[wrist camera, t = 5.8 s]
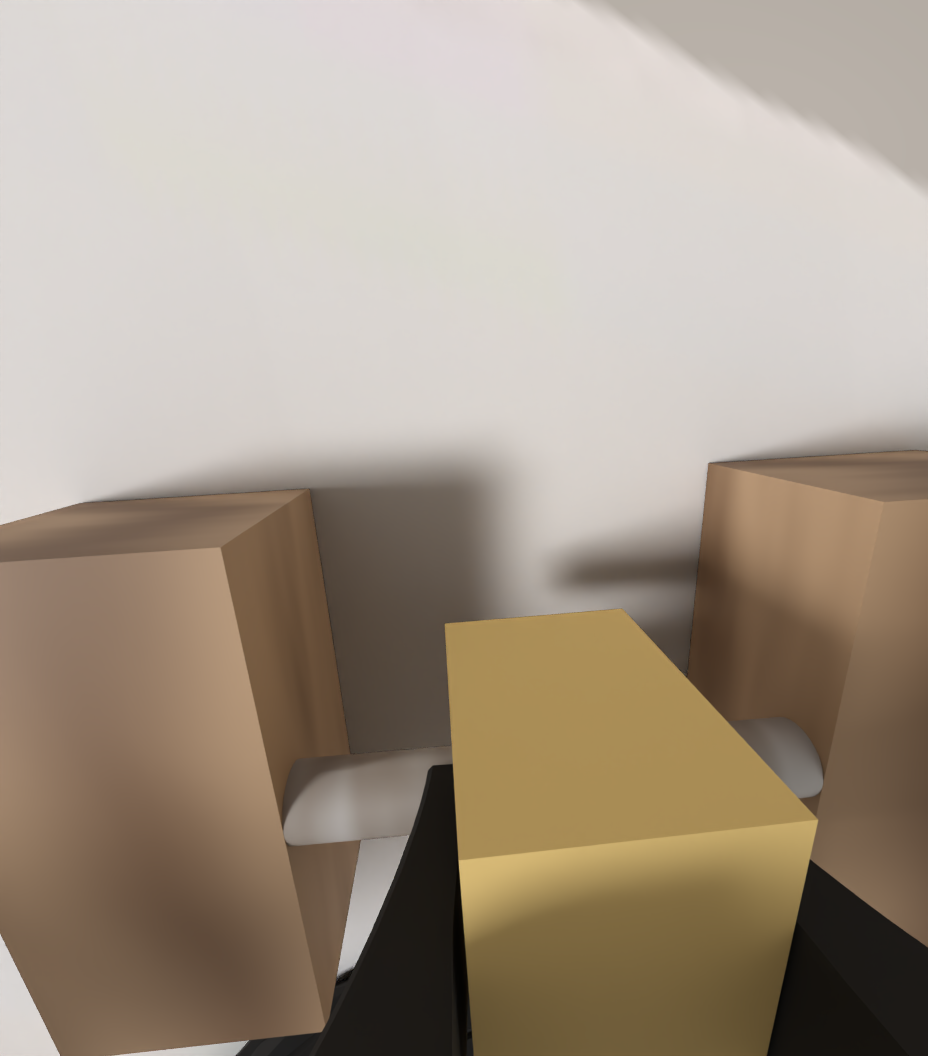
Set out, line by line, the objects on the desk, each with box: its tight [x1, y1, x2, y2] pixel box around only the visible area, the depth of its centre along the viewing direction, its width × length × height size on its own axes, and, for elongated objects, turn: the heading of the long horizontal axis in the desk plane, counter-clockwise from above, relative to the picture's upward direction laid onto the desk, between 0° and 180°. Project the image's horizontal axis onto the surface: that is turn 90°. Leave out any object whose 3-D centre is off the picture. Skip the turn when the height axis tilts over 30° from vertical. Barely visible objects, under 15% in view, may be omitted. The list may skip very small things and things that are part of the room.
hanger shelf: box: [0, 450, 928, 1056], centre depth 11 cm, size 23×12×5 cm, turn 93°
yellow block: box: [445, 609, 818, 1056], centre depth 8 cm, size 4×6×5 cm, turn 3°
